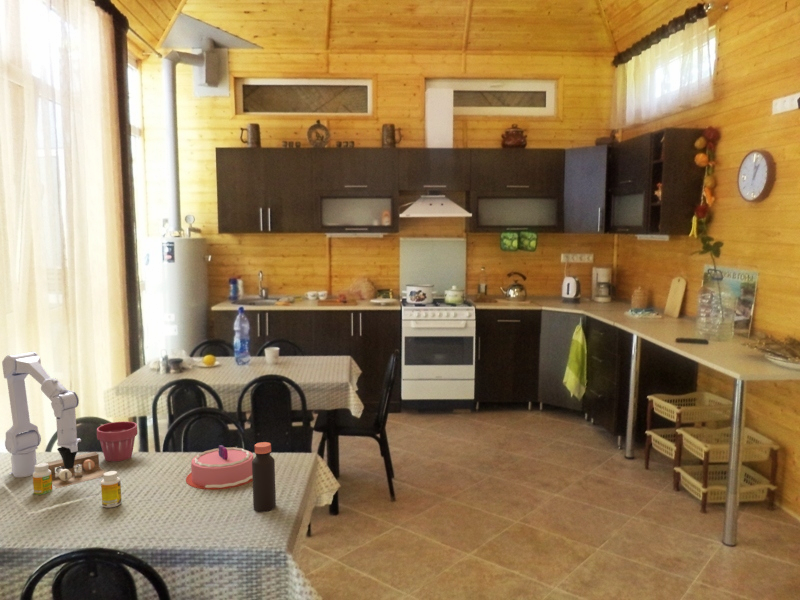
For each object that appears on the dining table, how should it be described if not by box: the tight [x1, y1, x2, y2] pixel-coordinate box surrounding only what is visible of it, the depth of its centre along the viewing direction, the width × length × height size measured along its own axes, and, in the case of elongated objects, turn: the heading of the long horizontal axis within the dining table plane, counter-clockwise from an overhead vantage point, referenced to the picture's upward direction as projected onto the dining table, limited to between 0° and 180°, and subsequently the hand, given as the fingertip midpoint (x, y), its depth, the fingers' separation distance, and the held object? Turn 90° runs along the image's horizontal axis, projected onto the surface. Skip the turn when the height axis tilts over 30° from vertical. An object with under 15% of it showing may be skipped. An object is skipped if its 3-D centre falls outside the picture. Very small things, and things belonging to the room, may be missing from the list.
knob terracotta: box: [82, 459, 95, 471], centre depth 228 cm, size 9×4×4 cm, turn 43°
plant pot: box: [96, 421, 138, 462], centre depth 240 cm, size 14×14×13 cm
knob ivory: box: [55, 466, 72, 481], centre depth 218 cm, size 9×4×4 cm, turn 43°
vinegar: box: [252, 441, 277, 513], centre depth 194 cm, size 7×7×20 cm
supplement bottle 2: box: [100, 470, 122, 509], centre depth 198 cm, size 6×6×10 cm
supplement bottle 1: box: [32, 462, 53, 495], centre depth 207 cm, size 5×5×10 cm
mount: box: [46, 451, 107, 489], centre depth 222 cm, size 16×17×6 cm
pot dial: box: [74, 464, 83, 478], centre depth 220 cm, size 3×3×4 cm
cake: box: [185, 444, 255, 490], centre depth 222 cm, size 25×25×11 cm
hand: (69, 468), depth 212 cm, fingers closed
